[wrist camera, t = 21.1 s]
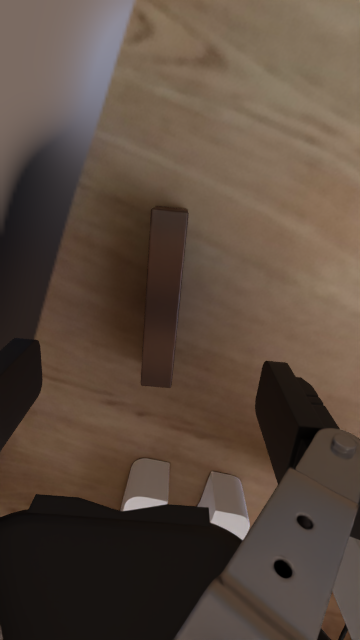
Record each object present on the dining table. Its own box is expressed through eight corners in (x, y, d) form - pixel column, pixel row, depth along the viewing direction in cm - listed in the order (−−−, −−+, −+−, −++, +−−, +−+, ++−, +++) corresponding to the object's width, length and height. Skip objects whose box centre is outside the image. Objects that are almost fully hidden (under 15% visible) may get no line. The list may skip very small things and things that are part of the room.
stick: (155, 205, 21) (151, 208, 18) (187, 208, 21) (188, 211, 18) (145, 363, 25) (140, 385, 22) (172, 365, 25) (171, 388, 22)
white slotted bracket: (99, 591, 34) (64, 759, 24) (134, 455, 28) (107, 608, 18) (190, 606, 35) (194, 775, 25) (245, 477, 28) (280, 635, 18)
